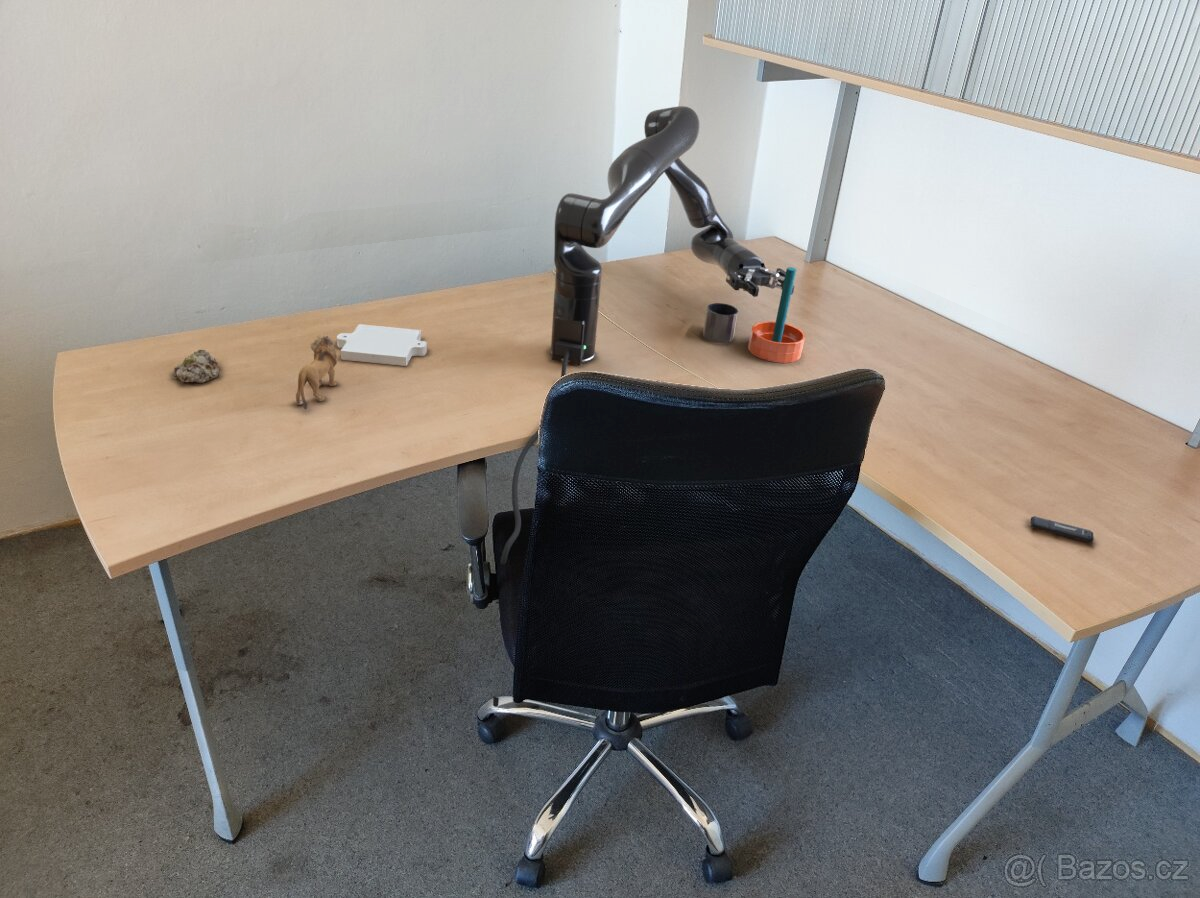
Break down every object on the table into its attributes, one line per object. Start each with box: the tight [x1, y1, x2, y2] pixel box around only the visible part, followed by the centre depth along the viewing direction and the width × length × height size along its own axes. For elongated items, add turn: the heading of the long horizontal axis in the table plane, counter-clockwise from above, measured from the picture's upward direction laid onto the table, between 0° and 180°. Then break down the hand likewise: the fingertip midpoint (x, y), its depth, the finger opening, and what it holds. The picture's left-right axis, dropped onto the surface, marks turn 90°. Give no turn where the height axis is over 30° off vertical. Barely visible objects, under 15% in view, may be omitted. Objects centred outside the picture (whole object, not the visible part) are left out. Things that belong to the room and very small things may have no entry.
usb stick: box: [1030, 515, 1095, 543], centre depth 145 cm, size 10×3×2 cm, turn 69°
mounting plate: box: [336, 323, 428, 367], centre depth 180 cm, size 18×13×2 cm
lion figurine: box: [295, 334, 338, 410], centre depth 161 cm, size 15×5×9 cm, turn 179°
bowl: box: [747, 320, 806, 364], centre depth 194 cm, size 12×12×5 cm
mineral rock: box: [173, 349, 220, 384], centre depth 165 cm, size 11×4×8 cm
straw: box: [772, 266, 797, 343], centre depth 190 cm, size 2×2×19 cm
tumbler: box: [702, 302, 739, 344], centre depth 198 cm, size 7×7×7 cm
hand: (774, 291), depth 193 cm, fingers open, 8 cm apart
